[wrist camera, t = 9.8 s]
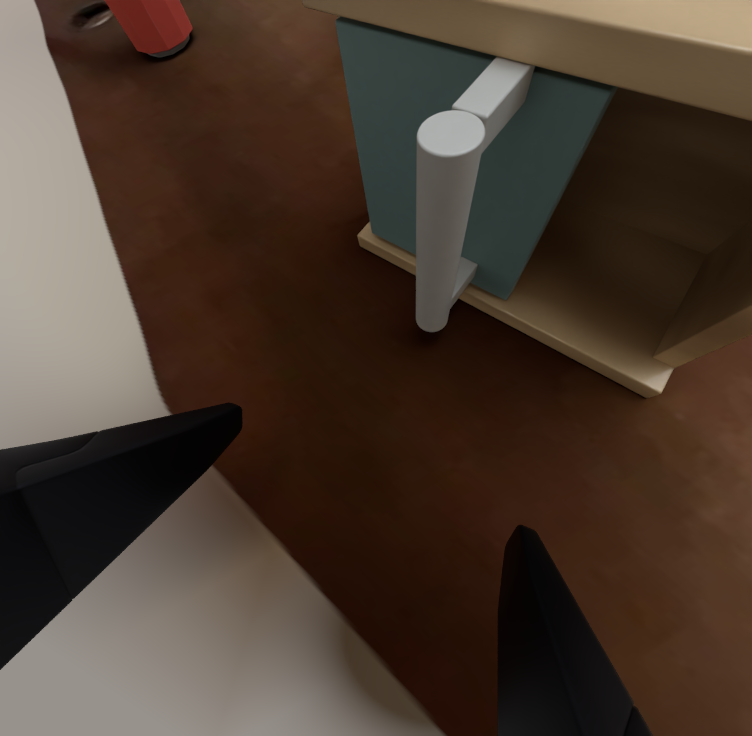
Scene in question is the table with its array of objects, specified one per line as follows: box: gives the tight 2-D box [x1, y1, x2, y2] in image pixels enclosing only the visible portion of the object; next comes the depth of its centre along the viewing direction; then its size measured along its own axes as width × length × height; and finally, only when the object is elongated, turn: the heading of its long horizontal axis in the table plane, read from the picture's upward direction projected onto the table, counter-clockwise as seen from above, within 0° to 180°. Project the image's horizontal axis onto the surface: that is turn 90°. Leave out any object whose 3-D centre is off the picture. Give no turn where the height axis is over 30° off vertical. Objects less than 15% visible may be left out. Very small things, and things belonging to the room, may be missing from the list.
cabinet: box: [302, 0, 752, 398], centre depth 13 cm, size 10×18×12 cm, turn 53°
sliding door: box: [336, 16, 618, 332], centre depth 13 cm, size 5×9×10 cm, turn 53°
